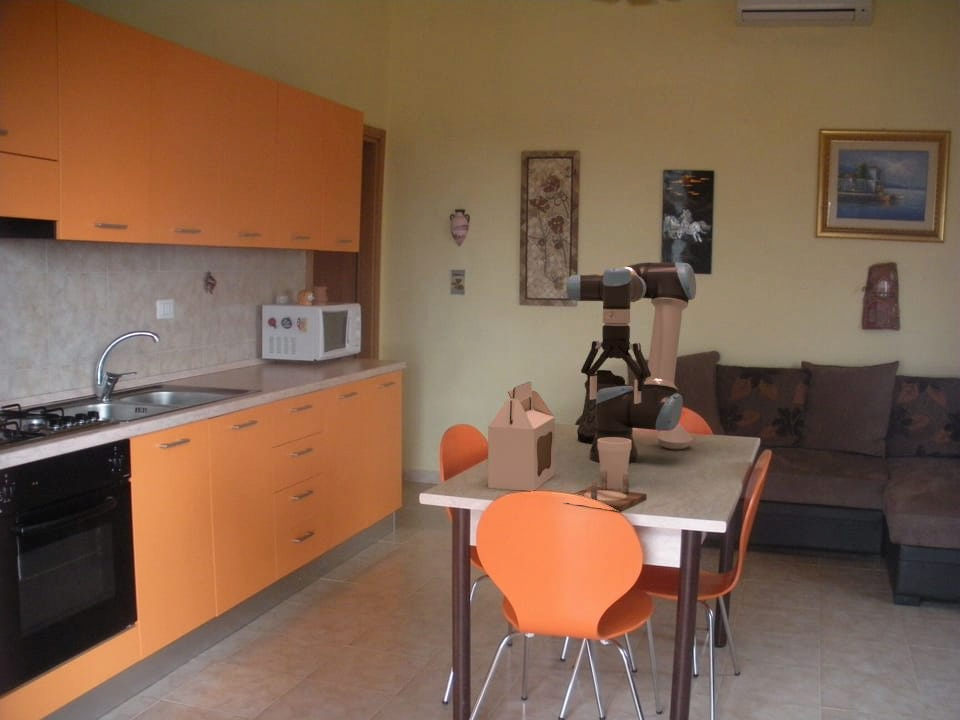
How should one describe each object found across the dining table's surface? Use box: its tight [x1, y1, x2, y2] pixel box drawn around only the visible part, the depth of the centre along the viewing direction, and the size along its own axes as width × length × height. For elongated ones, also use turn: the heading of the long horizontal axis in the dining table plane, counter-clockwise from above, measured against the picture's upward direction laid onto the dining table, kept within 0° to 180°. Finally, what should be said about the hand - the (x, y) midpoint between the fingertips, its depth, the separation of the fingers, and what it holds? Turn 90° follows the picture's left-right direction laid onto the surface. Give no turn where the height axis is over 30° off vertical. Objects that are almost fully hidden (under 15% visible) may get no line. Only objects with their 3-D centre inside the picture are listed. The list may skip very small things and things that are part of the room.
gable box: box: [487, 381, 556, 491], centre depth 268 cm, size 22×13×28 cm, turn 160°
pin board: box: [572, 470, 647, 513], centre depth 246 cm, size 16×16×6 cm
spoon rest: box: [656, 422, 693, 451], centre depth 326 cm, size 24×12×7 cm, turn 172°
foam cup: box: [597, 437, 631, 490], centre depth 263 cm, size 10×9×13 cm
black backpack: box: [576, 369, 630, 445], centre depth 332 cm, size 16×19×25 cm
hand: (614, 401), depth 261 cm, fingers open, 13 cm apart
